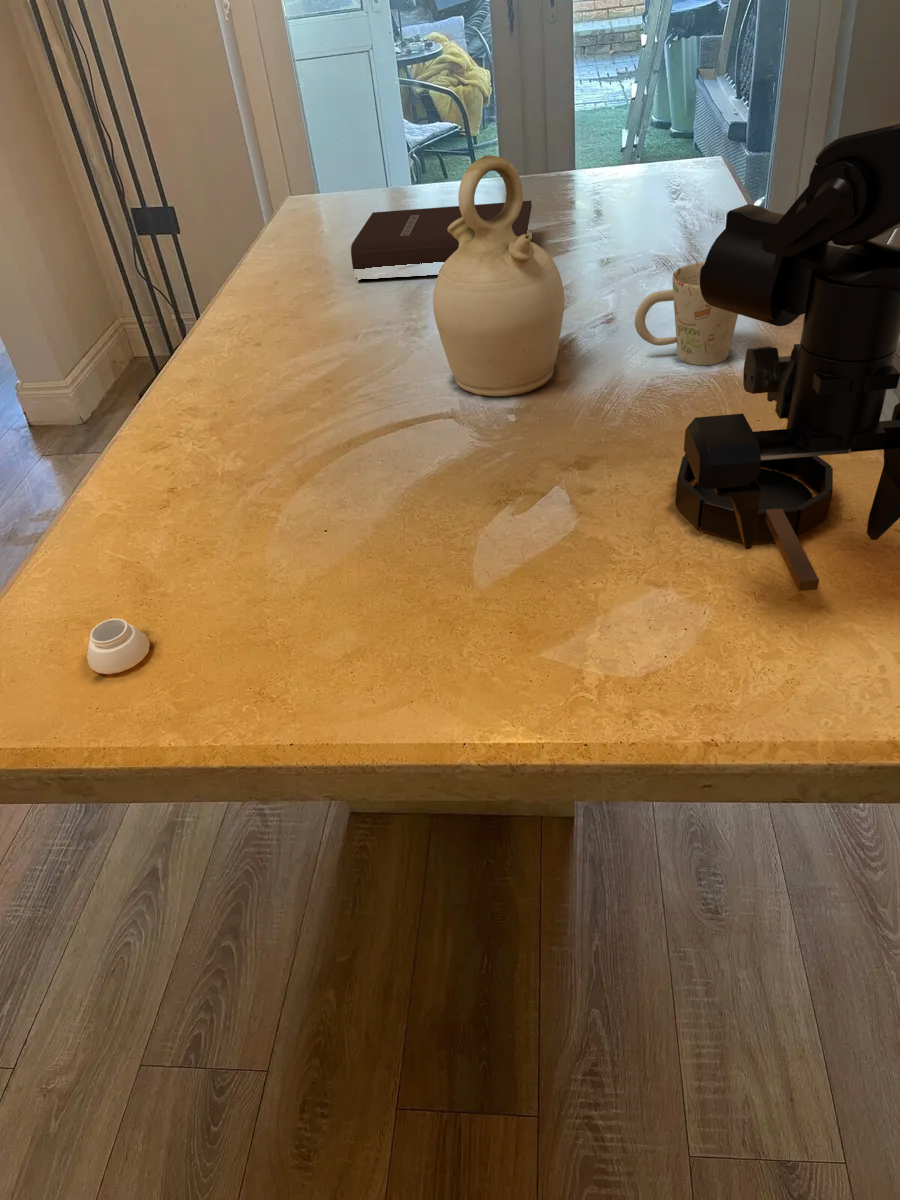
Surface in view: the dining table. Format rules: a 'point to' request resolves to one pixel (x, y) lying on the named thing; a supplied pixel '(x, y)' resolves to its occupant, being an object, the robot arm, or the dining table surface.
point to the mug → (691, 320)
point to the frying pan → (768, 509)
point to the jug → (497, 296)
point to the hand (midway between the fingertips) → (808, 541)
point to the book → (418, 235)
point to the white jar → (116, 646)
